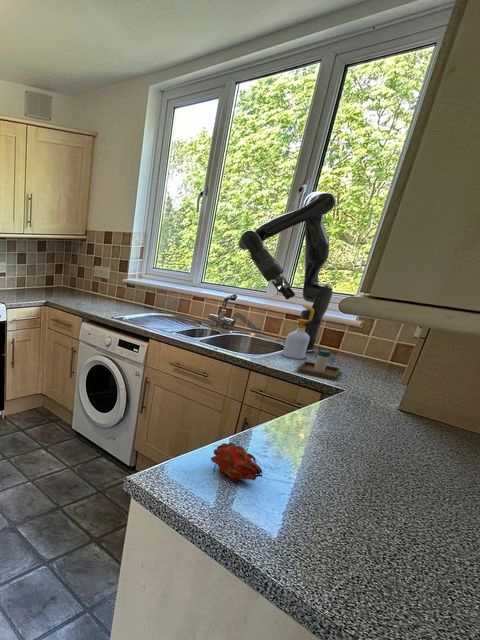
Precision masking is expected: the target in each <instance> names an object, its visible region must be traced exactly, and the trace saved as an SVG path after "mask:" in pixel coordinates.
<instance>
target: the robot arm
mask: <svg viewBox="0 0 480 640" xmlns="http://www.w3.org/2000/svg"><path fill="white" fill-rule="evenodd" d="M336 201H337V199H336V197H335V195H334V194H332V193H331V192H326V191H325V192H324V191H313V192H311V193H310V194H308V195H307V196H306V197H305V199H304V201H303V206H301V207H300V208H297V209H296V210H293V211H289V212H287V213H284V214H280V215H278V216H275V217H274V218H271V219H270V220H268V221H266V222H264V223H263V224H261V225H259V227H257V228H256V229H255V230H253V229H248V230H244V232H242V234H241V236H240V238H239V240H238V247H239V248H240V249H241V250H244V251H248V252H249V253H250V254H249V255H250V259H251V261H252V262H253V263H254V265H255V267H256V268H257V270H258V271H259V272H260V274H261V275H262V277H263V278H264V279H265V281H266V282H271V283H272V286H274V287H275V289H276V290H277V292H278V293H280V294H282V296H283V297H284V298H285V300H290V299H291V298H293V297H295V296H296V293H295V292H294V290H293V289H292V286H291V284H290V283H289V282H288V280H287V279H286V278H285V277H284V276H281V275H282V274H283V273H284V272H285V270H284V269H283V268H282V267H281V265H280V264H279V263H278V261H277V260H276V259H275V257H273V256H272V255H271V253H270V252H269V250H268V249H267V248H266V246H265V243H264V242H265V241H266V240H268V239H269V238H272V237H274V236H276V235H278V234H280V233H282V232H283V231H286V230H288V229H291V228H292V227H294V226H297V225H300V224H301V223H304V227H305V229H304V230H305V231H304V237H305V238H304V241H305V243H304V245H305V246H304V277H303V278H304V279H303V285H302V286H303V287H302V298H303V300H304V301H305V302H307V303H312V306H310V307H311V308H313V309H314V310H315V311H314V315H313V318H312V320H311V321H309V322H306V324H304V326H305V333H307V334H308V335H309V337H310V339H309V343H308V346H307V349H306V353H313V351H314V348H315V345H316V341H317V338H318V334H319V331H320V328H321V324H322V322H323V318H324V316H325V314H326V312H327V310H328V308H329V305H330V303H331V300H332V297H333V287H332V286H331V285H329V284H323V283H319V275H320V274H319V273H320V271H321V269H322V268H323V267H324V265H325V264H326V262H327V261H328V258H329V256H330V239H329V235H328V233H327V231H326V228H325V226H324V215H326V214H328V213H330V212H331V211H332V210H333V209H334V208H335V205H336ZM309 316H310V310H309V309H306V308H305V309H302V310H301V312H300V316H299V319H304V320H308V319H309ZM299 322H300V321H298V324H297V326H298V325H300V323H299Z"/></svg>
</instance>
